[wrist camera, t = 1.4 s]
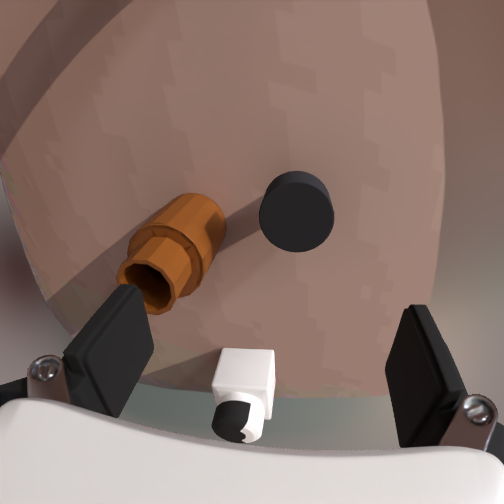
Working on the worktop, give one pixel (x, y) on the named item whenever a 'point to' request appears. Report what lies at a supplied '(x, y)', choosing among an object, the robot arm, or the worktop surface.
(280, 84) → the worktop surface
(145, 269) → the amber bottle
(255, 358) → the medicine bottle
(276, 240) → the stopper
